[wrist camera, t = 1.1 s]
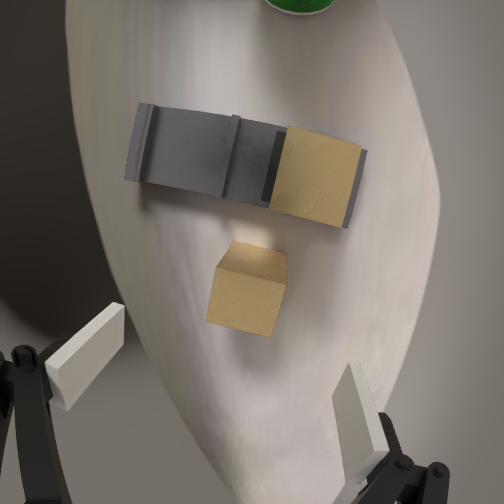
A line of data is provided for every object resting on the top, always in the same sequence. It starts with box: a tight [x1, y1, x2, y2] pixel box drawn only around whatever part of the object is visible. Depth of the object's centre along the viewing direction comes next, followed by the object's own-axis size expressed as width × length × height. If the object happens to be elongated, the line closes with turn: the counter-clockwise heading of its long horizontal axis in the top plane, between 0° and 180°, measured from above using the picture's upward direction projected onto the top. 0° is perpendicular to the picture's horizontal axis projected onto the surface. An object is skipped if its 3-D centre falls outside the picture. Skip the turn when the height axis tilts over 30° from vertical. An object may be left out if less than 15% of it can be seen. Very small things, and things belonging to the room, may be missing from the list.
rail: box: [124, 103, 367, 228], centre depth 21 cm, size 7×20×10 cm, turn 77°
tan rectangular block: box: [206, 241, 287, 338], centre depth 25 cm, size 5×5×8 cm
